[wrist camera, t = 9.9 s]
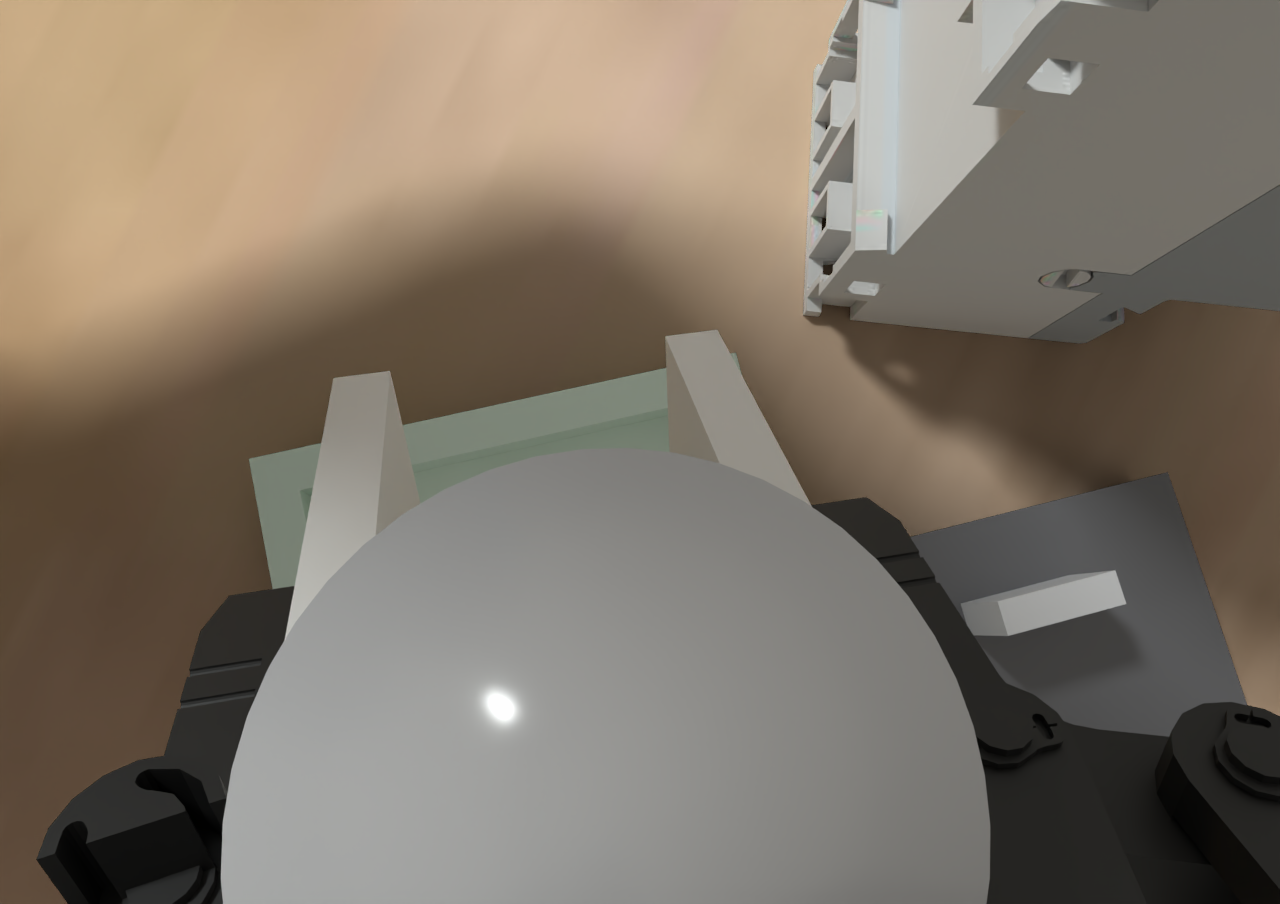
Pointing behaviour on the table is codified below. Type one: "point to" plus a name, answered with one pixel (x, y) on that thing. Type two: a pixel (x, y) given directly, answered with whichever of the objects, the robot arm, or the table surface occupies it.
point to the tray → (472, 450)
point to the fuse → (609, 708)
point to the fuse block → (1092, 606)
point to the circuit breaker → (1044, 162)
